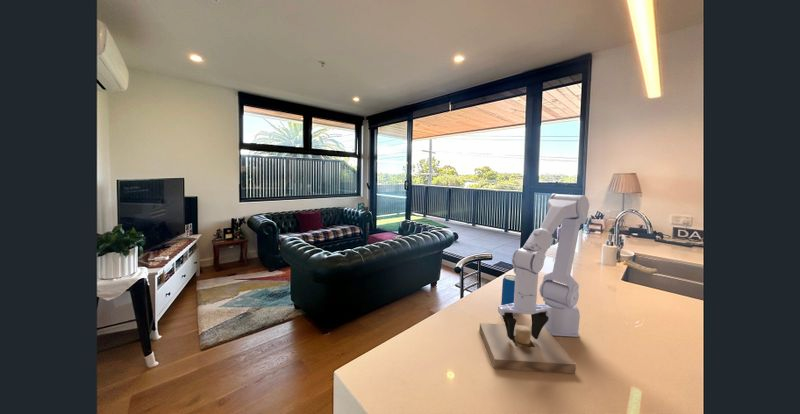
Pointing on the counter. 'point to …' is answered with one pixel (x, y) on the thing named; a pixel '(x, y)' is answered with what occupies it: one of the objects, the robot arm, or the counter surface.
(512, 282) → the beverage can
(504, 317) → the robot arm
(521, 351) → the hole board
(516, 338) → the oak peg
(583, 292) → the counter surface
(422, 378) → the counter surface
